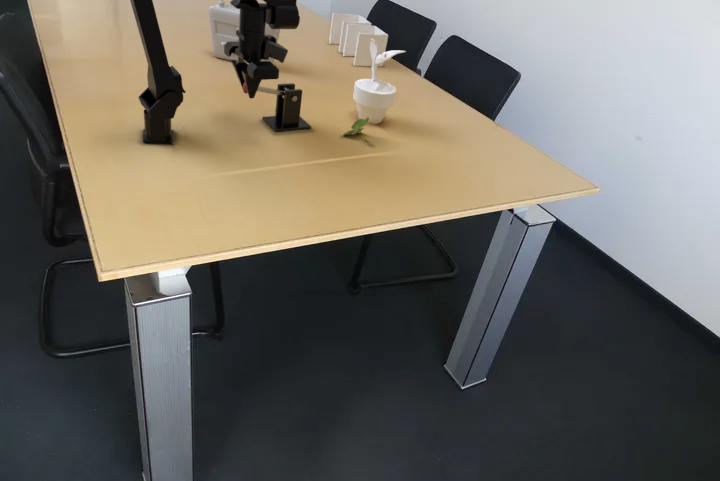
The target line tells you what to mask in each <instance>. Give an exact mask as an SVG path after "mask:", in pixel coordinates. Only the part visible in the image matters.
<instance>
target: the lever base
mask: <svg viewBox="0 0 720 481" xmlns="http://www.w3.org/2000/svg"><path fill="white" fill-rule="evenodd" d="M284 87H285V88H291V89H294V90H285V93H284V98H283V97H282V95H276V102H275V114H274V115H270V116H269V115H267V116H262V118H261V120H262V121H263V122H264V123H265V124H266V125H267V126H268V127H269V128H270V129H271V130H272V131H273V132H274V133H285V132H295V131H297V132H298V131H305V130H307V131H308V130H311V129H312V126H311V125H310V124H309V123H308V122H307V121H306V120H304V119H303V117H302V116H301V107H302V99H303V90H302V89H300V88H298V89H297V88H296V84H295V83H293V82H292V83H278V84H277V87H276V88H277V90H283V89H284Z"/></svg>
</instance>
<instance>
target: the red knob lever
mask: <svg viewBox="0 0 720 481" xmlns="http://www.w3.org/2000/svg"><path fill="white" fill-rule="evenodd" d="M243 90H244V91H245V92H246V93H245V94H248V92H247V88H246V85H245V83H244V84H243V89H242V91H243ZM285 90H294V89H291V88H285V87H284V89H283V90H277V89H276V88H271V87H267V86H261V85H259V87H258V89H257V92H259V93H265V94H272V95H276V96H277V95H282V97H283V98H284V93H285ZM244 91H243V92H244Z"/></svg>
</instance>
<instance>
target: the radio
mask: <svg viewBox="0 0 720 481" xmlns="http://www.w3.org/2000/svg"><path fill="white" fill-rule="evenodd" d="M264 3H266V2H264ZM208 19H209V27H210V36H211V44H212V53H213V56H214V57H216V58H217V59H221V60H226V61H229V62H231V60H234V54H233V53H232V55H231V56H230V57H228V56H227V55H226V54H225V53H224V45H225V44H226V43H227V42H237V41H239V37H238V36H237V35H236V30H239V20H240V9H237V8H235V7H234V6H233V5H231V4H226V2H225V1H223V0H219V1H218V3H217V4H214V5H211V6H209V9H208ZM280 32H281V29H271V28H270V26H269V24H267V23H266V24H265V35H268V34H269V35H271V36H273V37H275V38H276V43H279V37H280ZM261 61H270V62H271V63H272V64H274V61H275V59H273V58H270V57H269V60H264V59H261Z"/></svg>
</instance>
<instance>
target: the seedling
mask: <svg viewBox="0 0 720 481" xmlns="http://www.w3.org/2000/svg"><path fill="white" fill-rule="evenodd" d="M368 120H369V117H367V118H366V119H365V120H364V119H359V118H358V119H357V120H355V121H354V123H353V124H352V125H351V130H348V131H346V132H344V133H343V136H349V135H357V134H358V133H360V134H361V135H362V137H363V139H364V141H365V142H367V143H369V144H370V142H369V141H368V140H367V139H366V138H365V135H364V134H363V130H364V129H365V126H366V125H367V124H368V123H367V122H368Z"/></svg>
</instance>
